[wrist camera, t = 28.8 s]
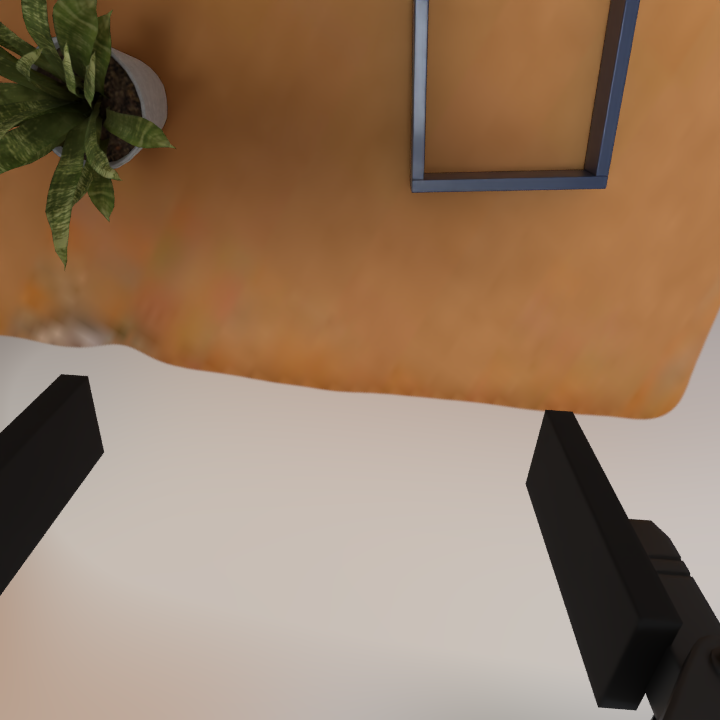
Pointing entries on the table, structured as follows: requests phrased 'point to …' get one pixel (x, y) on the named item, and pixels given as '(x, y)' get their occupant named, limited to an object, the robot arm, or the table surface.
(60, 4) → the house plant
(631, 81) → the table surface
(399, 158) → the table surface
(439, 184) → the blue-grey open rectangular frame
